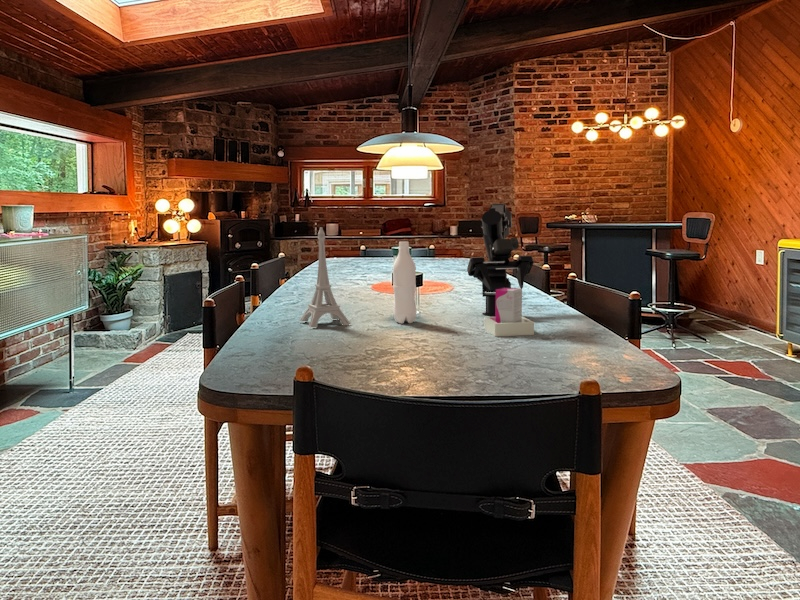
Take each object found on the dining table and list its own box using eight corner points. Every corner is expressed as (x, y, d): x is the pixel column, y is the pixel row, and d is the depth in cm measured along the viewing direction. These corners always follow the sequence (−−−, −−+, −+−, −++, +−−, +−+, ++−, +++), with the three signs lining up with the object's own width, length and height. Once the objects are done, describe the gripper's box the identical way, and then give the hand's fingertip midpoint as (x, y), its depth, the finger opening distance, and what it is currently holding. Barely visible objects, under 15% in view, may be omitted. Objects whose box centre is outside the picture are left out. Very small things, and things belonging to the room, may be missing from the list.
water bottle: (414, 324, 194) (413, 242, 190) (391, 324, 195) (389, 242, 191) (418, 320, 201) (417, 240, 197) (396, 319, 202) (394, 241, 198)
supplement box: (522, 328, 181) (522, 288, 179) (513, 331, 176) (513, 290, 174) (503, 326, 184) (504, 286, 183) (494, 329, 179) (494, 289, 178)
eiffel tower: (297, 322, 201) (294, 227, 196) (338, 319, 206) (335, 226, 202) (309, 329, 189) (305, 228, 184) (352, 325, 194) (349, 227, 190)
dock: (484, 328, 185) (484, 317, 184) (520, 327, 186) (521, 315, 186) (495, 336, 174) (495, 323, 173) (533, 334, 175) (534, 322, 175)
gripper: (469, 229, 182) (479, 271, 173) (532, 227, 185) (545, 269, 176) (463, 254, 191) (472, 296, 182) (522, 252, 194) (535, 293, 185)
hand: (506, 288), depth 181 cm, fingers open, 9 cm apart
